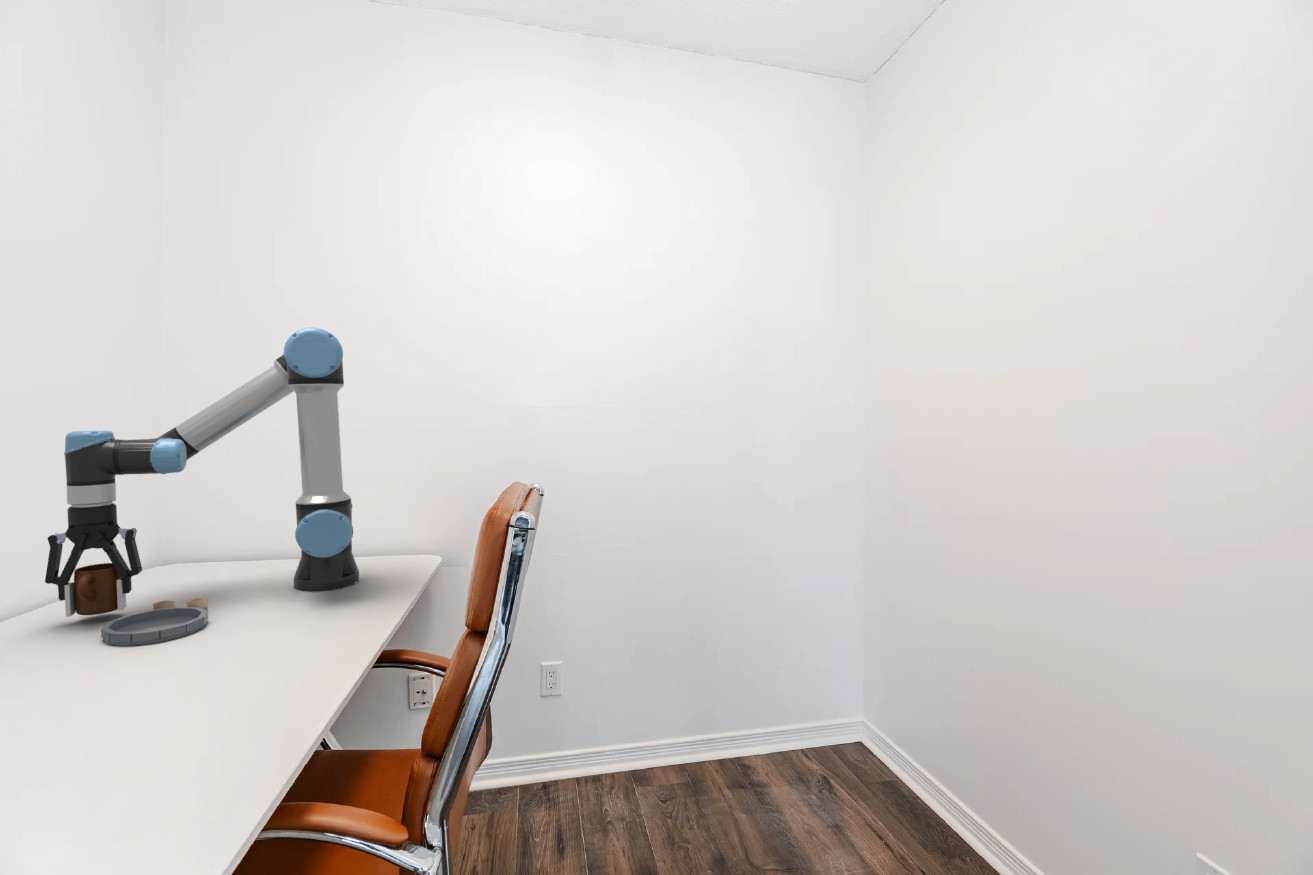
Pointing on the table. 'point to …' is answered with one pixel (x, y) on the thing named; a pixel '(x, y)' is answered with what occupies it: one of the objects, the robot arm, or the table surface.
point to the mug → (96, 589)
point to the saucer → (154, 626)
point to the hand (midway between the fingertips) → (96, 611)
